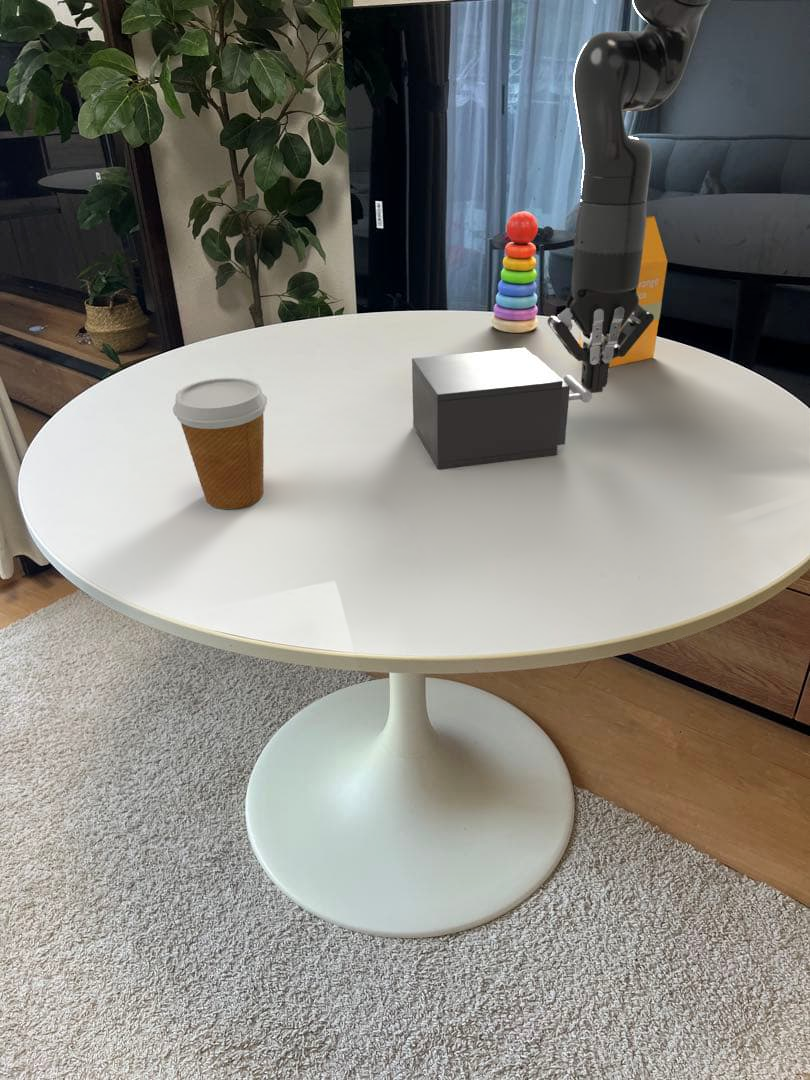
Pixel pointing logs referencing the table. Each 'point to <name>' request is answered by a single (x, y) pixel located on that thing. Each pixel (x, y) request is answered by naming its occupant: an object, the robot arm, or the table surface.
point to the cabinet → (485, 407)
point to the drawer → (579, 394)
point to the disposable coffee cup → (225, 438)
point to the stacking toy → (518, 278)
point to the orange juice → (647, 294)
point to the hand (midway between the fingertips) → (593, 390)
